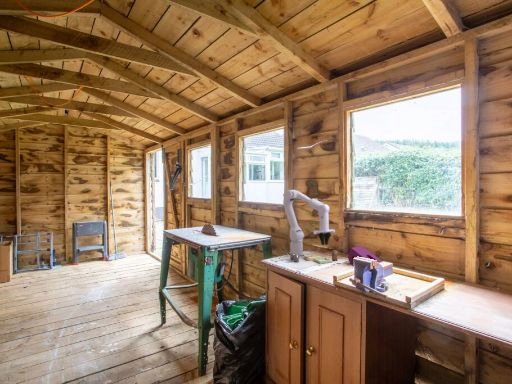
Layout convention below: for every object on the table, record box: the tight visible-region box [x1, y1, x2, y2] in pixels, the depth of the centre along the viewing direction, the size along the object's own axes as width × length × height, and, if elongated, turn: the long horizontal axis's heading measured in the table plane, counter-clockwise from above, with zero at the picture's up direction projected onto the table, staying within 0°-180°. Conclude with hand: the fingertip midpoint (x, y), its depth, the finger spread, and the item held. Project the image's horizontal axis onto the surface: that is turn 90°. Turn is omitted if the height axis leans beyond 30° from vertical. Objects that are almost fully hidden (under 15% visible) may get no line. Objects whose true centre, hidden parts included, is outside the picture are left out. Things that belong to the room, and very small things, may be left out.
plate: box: [302, 253, 322, 262], centre depth 185 cm, size 8×8×2 cm
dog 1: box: [289, 253, 295, 262], centre depth 184 cm, size 3×3×4 cm
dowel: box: [331, 249, 339, 262], centre depth 180 cm, size 3×3×6 cm
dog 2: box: [293, 255, 300, 263], centre depth 179 cm, size 3×3×4 cm
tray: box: [313, 256, 334, 265], centre depth 178 cm, size 8×8×2 cm
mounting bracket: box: [347, 245, 383, 265], centre depth 168 cm, size 9×8×18 cm
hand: (324, 244), depth 187 cm, fingers closed
